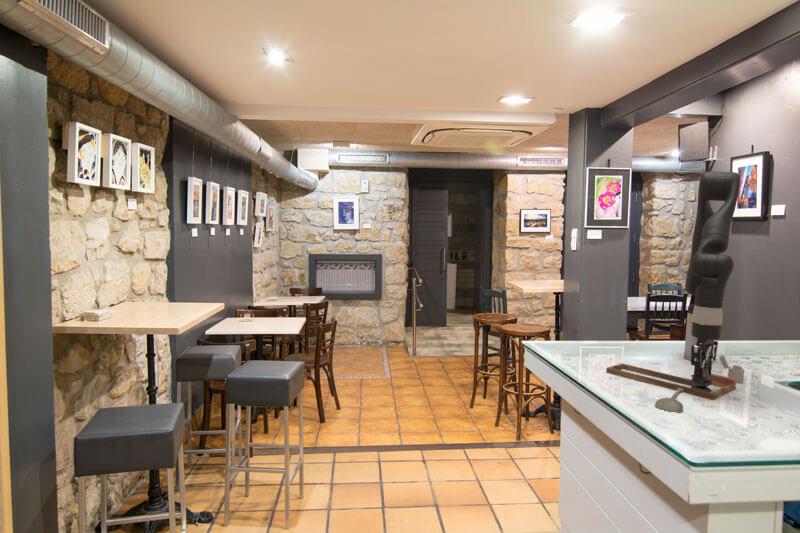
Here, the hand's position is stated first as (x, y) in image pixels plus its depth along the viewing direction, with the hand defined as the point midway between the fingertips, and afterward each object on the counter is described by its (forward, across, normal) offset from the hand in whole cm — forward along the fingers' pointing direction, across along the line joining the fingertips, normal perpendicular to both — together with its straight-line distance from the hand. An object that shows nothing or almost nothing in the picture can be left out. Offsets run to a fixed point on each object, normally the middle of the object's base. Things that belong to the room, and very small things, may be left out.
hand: (702, 377), depth 151 cm
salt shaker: (+4, 0, 0) cm, 4 cm away
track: (+4, -4, -11) cm, 12 cm away
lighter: (+5, -21, +1) cm, 21 cm away
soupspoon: (+5, +16, -1) cm, 17 cm away
